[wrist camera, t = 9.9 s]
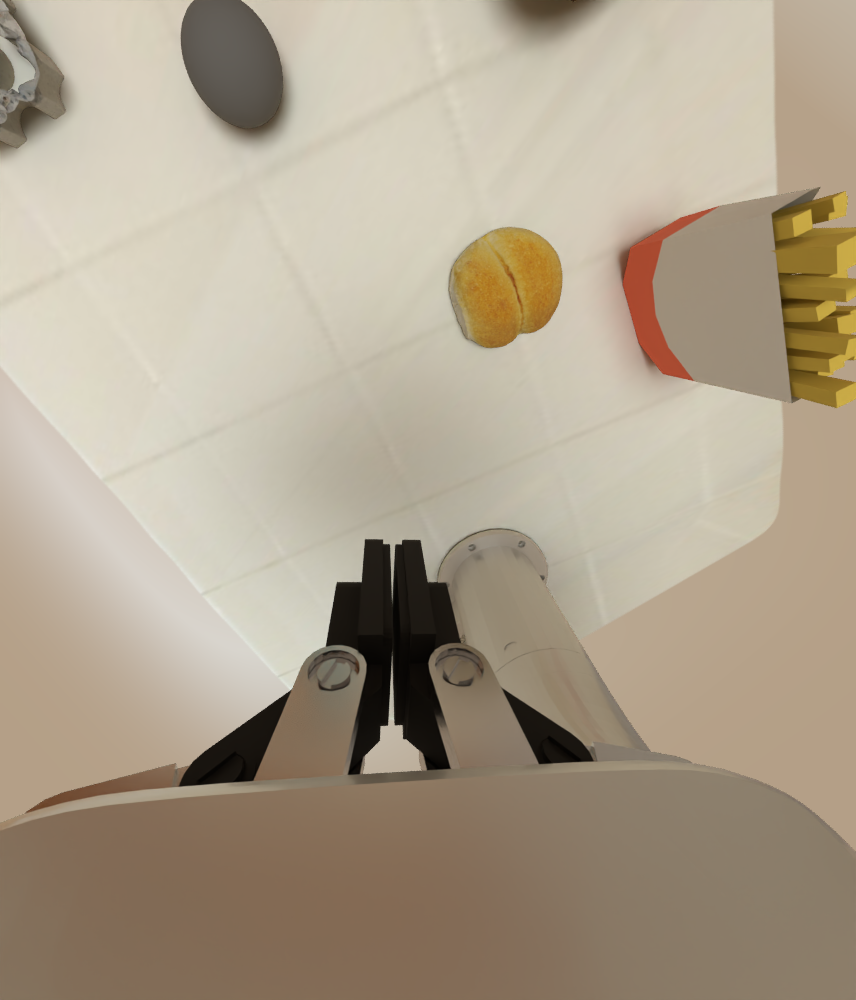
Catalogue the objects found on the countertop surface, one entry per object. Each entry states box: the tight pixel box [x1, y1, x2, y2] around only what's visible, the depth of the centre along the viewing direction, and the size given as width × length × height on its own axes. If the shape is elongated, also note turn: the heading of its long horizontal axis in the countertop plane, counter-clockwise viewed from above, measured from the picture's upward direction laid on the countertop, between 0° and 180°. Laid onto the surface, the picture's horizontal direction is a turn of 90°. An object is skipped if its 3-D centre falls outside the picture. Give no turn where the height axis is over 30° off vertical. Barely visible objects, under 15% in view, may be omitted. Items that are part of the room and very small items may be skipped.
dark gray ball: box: [181, 0, 283, 128], centre depth 24 cm, size 6×6×6 cm
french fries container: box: [623, 187, 856, 408], centre depth 27 cm, size 5×11×18 cm, turn 29°
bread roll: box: [449, 227, 562, 348], centre depth 32 cm, size 8×9×4 cm
